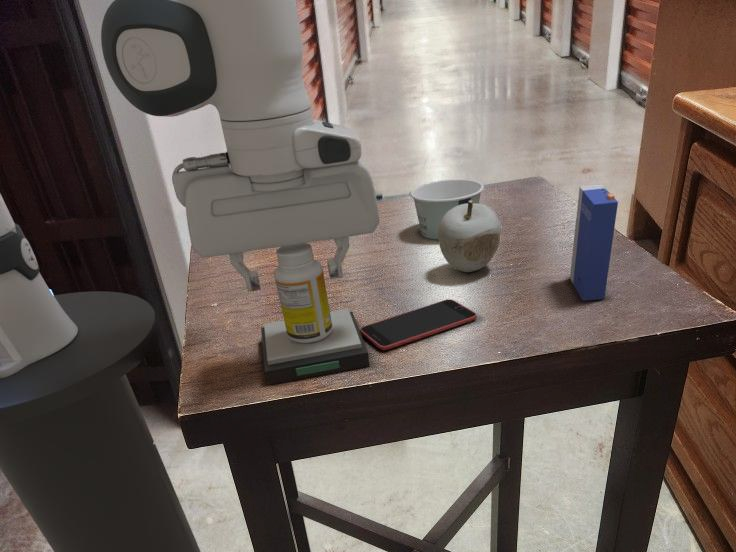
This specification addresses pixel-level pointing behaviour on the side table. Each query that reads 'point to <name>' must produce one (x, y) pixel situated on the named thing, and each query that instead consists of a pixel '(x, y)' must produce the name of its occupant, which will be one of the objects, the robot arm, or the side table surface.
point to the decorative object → (469, 236)
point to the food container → (442, 201)
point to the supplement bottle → (302, 294)
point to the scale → (313, 350)
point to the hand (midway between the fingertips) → (295, 283)
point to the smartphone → (417, 324)
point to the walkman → (593, 241)
